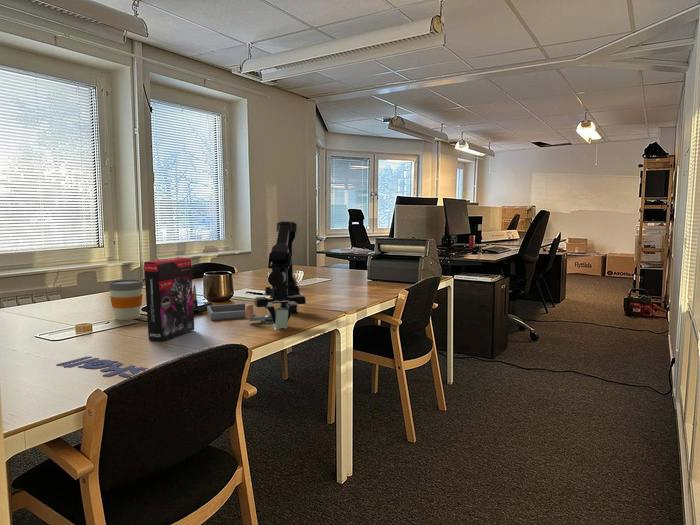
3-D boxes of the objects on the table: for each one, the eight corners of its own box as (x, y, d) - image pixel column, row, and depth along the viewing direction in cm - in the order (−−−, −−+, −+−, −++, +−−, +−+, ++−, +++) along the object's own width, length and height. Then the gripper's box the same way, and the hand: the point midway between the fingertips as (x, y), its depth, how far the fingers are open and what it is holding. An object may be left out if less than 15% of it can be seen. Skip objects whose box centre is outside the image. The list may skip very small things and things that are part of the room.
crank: (273, 318, 194) (273, 302, 193) (275, 320, 190) (275, 304, 189) (244, 320, 190) (244, 304, 189) (246, 322, 186) (246, 306, 185)
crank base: (275, 319, 196) (275, 317, 196) (286, 329, 181) (286, 327, 181) (258, 320, 193) (258, 319, 193) (267, 330, 178) (267, 328, 178)
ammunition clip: (176, 315, 202) (175, 287, 201) (173, 314, 203) (173, 286, 202) (198, 311, 211) (197, 284, 209) (195, 310, 212) (194, 283, 210)
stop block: (284, 325, 186) (285, 308, 185) (287, 328, 182) (288, 310, 181) (273, 326, 184) (273, 308, 184) (275, 328, 180) (276, 310, 179)
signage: (156, 368, 134) (125, 380, 125) (156, 371, 134) (125, 382, 125) (88, 354, 146) (56, 364, 137) (88, 357, 146) (56, 366, 137)
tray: (246, 310, 214) (246, 303, 213) (253, 317, 199) (253, 310, 199) (207, 312, 207) (207, 305, 207) (211, 320, 193) (211, 313, 192)
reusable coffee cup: (149, 317, 197) (148, 281, 195) (117, 322, 188) (116, 285, 186) (136, 313, 205) (134, 278, 204) (105, 317, 196) (103, 281, 195)
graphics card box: (161, 342, 161) (159, 262, 158) (145, 340, 164) (142, 261, 161) (195, 330, 177) (193, 257, 174) (179, 329, 179) (177, 256, 176)
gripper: (298, 278, 192) (298, 316, 194) (251, 280, 185) (252, 320, 187) (306, 282, 182) (306, 322, 183) (257, 285, 175) (257, 326, 176)
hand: (280, 322), depth 183 cm, fingers closed on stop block, 5 cm apart
